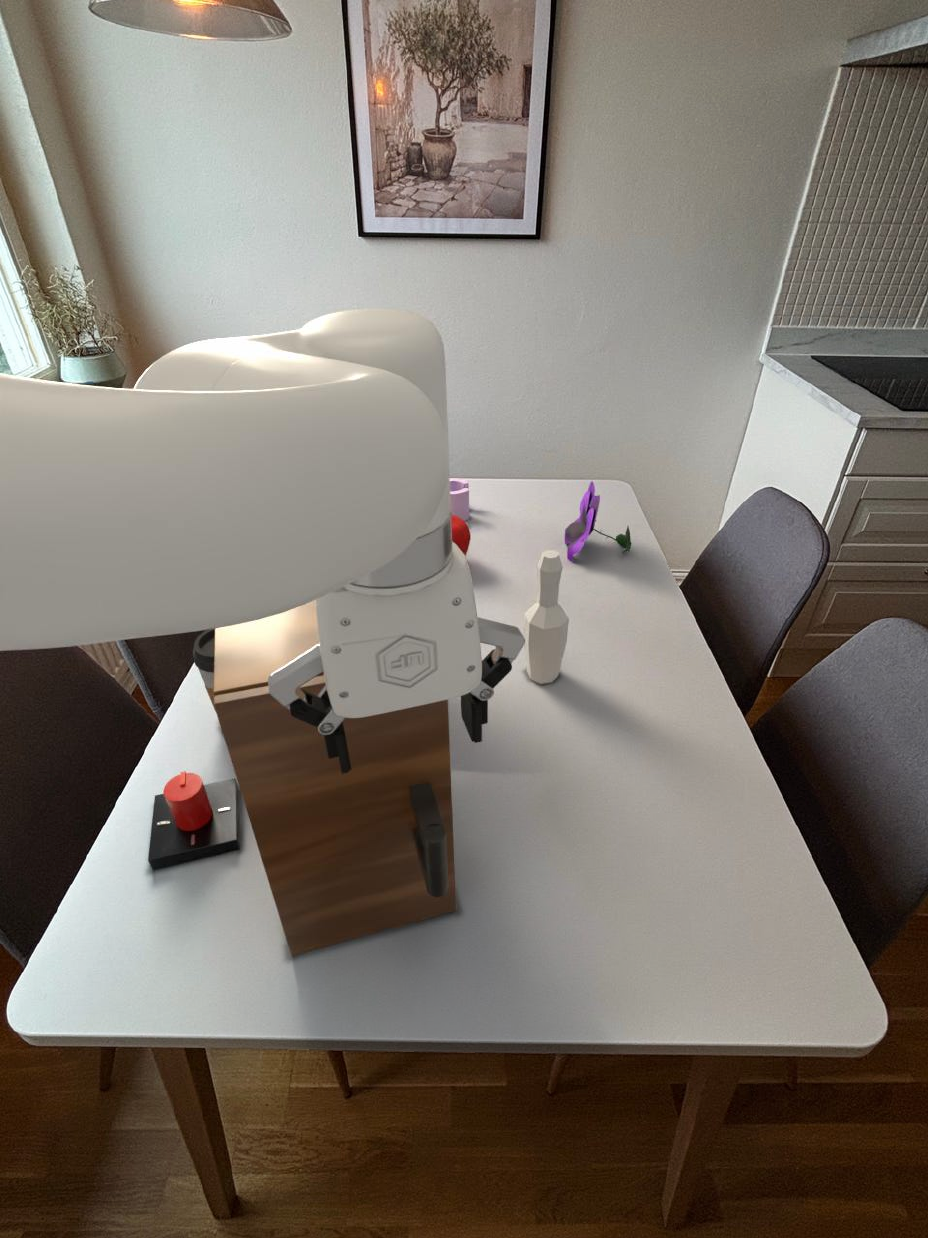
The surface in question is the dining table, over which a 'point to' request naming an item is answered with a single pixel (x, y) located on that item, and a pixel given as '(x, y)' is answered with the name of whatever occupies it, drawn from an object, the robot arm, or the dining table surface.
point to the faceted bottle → (546, 623)
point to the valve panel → (201, 843)
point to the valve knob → (188, 801)
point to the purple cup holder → (459, 498)
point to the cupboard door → (346, 815)
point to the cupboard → (262, 648)
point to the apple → (460, 533)
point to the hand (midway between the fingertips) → (409, 744)
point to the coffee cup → (206, 659)
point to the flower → (589, 525)
